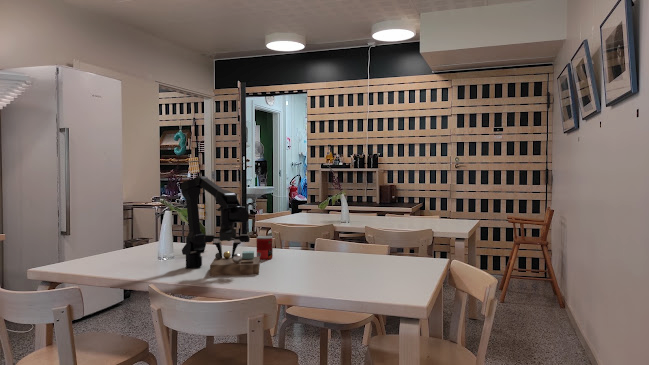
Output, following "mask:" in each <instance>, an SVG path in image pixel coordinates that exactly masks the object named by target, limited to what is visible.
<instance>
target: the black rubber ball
mask: <svg viewBox="0 0 649 365" xmlns="http://www.w3.org/2000/svg"><path fill="white" fill-rule="evenodd" d="M214 256H215V258H216V259H221V258H220V254H219V252H217V253H215V255H214Z"/></svg>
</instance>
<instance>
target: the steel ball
mask: <svg viewBox="0 0 649 365" xmlns="http://www.w3.org/2000/svg"><path fill="white" fill-rule="evenodd" d="M241 259H242V254H239V253H234V256H233V258H232V261H233V262H234V263H239V262H240V261H241Z"/></svg>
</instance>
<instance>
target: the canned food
mask: <svg viewBox="0 0 649 365" xmlns="http://www.w3.org/2000/svg"><path fill="white" fill-rule="evenodd" d="M256 257H260V261H267V260H272V259H273V236H272V235H260V236H256Z"/></svg>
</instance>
